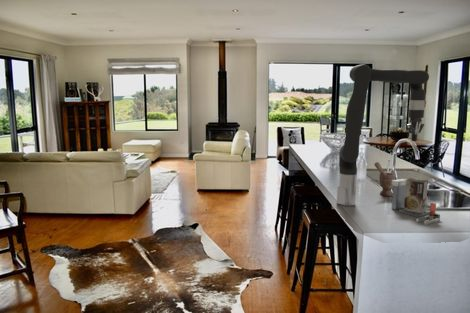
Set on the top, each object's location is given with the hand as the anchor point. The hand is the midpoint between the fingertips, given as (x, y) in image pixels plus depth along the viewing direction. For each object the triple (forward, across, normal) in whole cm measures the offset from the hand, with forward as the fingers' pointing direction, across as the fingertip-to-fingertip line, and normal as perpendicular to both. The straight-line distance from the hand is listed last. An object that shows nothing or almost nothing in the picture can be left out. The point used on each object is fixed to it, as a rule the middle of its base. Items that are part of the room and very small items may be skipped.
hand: (414, 141), depth 206 cm
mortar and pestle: (+35, +3, +19) cm, 40 cm away
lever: (+35, -16, -23) cm, 45 cm away
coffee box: (+34, -13, -12) cm, 38 cm away
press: (+35, -16, -13) cm, 41 cm away
